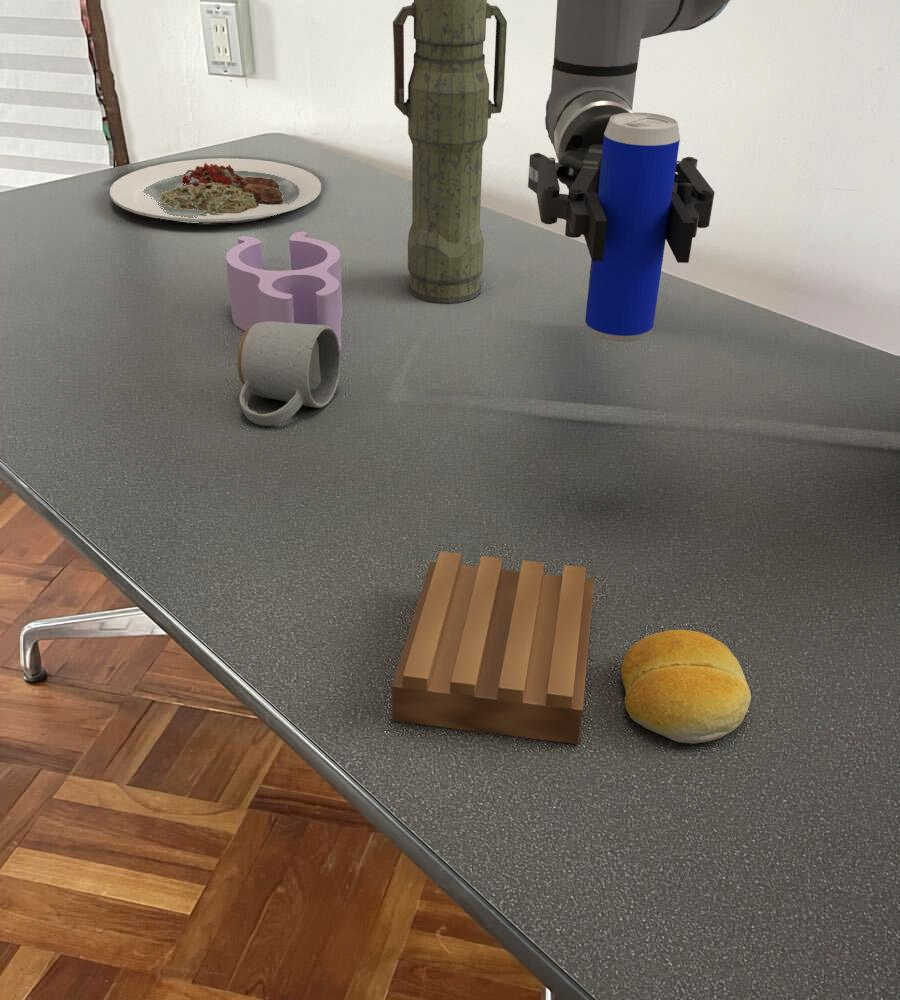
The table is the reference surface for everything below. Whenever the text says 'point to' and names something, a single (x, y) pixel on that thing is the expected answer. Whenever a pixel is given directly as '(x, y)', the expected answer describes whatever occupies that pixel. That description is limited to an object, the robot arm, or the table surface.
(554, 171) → the robot arm
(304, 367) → the ceramic mug
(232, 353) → the table surface
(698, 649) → the bread roll
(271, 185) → the plated food
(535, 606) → the rack
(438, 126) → the olive green vase
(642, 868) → the table surface
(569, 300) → the table surface
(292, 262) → the clip
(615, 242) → the beverage can
